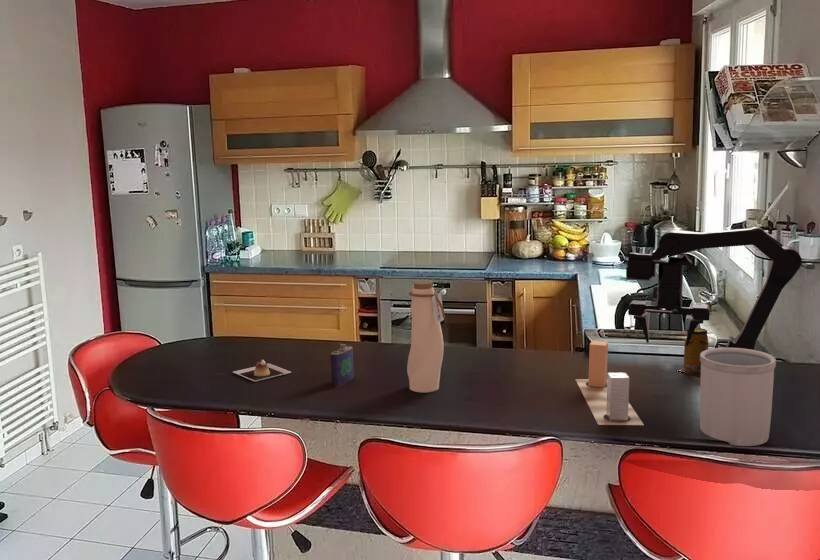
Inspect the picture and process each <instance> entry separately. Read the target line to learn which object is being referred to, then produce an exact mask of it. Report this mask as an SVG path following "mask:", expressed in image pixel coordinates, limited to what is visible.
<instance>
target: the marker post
mask: <svg viewBox="0 0 820 560" xmlns="http://www.w3.org/2000/svg"><path fill="white" fill-rule="evenodd" d="M608 348H609V341H603V340H601V341H600V340H592V341H591V342H590V343H589V349H588V350H589V353H588V354H589V355H588V379H589V384H588V386H595V387H605V385H606V383H607V376H608V358H609V357H608V355H609V354H608V352H609V349H608Z"/></svg>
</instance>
